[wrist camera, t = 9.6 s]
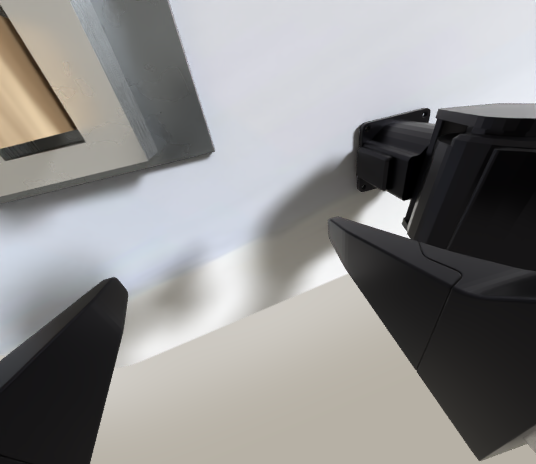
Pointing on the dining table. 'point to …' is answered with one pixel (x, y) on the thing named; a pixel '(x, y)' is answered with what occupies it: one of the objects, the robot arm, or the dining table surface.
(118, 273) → the dining table surface
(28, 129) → the oak wedge
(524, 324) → the robot arm
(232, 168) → the dining table surface
